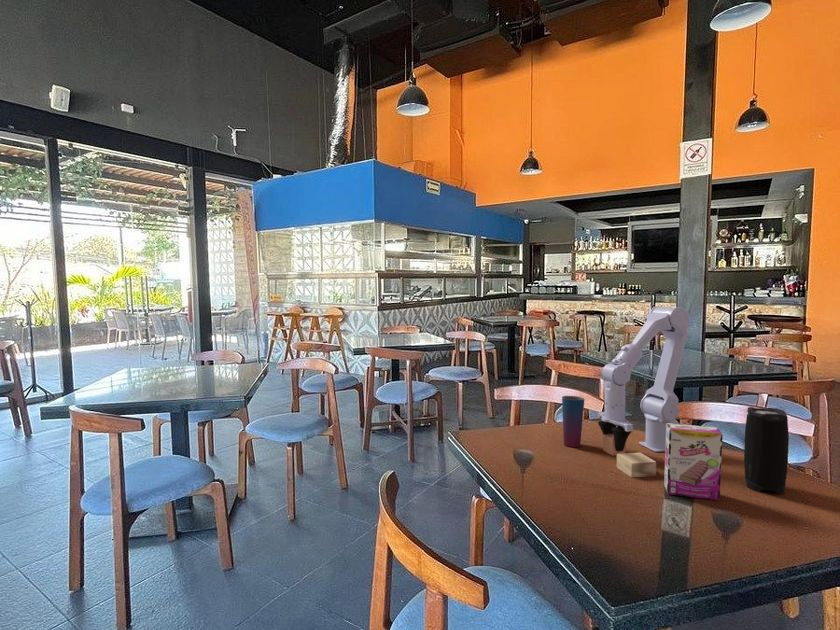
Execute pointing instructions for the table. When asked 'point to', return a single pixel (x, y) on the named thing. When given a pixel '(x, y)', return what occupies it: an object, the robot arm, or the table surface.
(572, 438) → the cup
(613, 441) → the terracotta cube
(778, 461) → the portable speaker
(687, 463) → the candy bar box
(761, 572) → the table surface
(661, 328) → the robot arm
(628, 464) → the oak block
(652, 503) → the table surface
